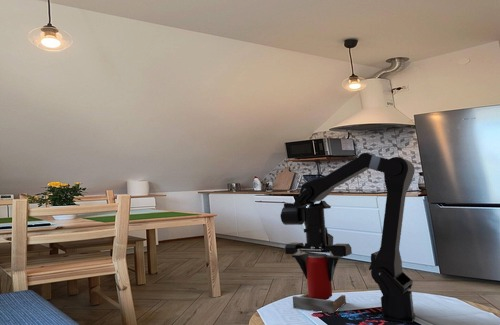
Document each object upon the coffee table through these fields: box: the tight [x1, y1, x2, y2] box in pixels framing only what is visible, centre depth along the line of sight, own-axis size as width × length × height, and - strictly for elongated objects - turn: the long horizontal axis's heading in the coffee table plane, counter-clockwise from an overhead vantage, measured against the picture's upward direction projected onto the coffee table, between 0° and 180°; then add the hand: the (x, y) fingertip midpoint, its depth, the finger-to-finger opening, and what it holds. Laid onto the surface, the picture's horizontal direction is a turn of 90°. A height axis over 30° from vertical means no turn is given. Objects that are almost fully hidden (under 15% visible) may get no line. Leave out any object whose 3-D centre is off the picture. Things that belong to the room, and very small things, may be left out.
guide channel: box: [292, 291, 347, 314], centre depth 94 cm, size 11×11×3 cm
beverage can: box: [306, 253, 333, 300], centre depth 95 cm, size 7×7×12 cm
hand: (319, 279), depth 95 cm, fingers closed on beverage can, 7 cm apart
